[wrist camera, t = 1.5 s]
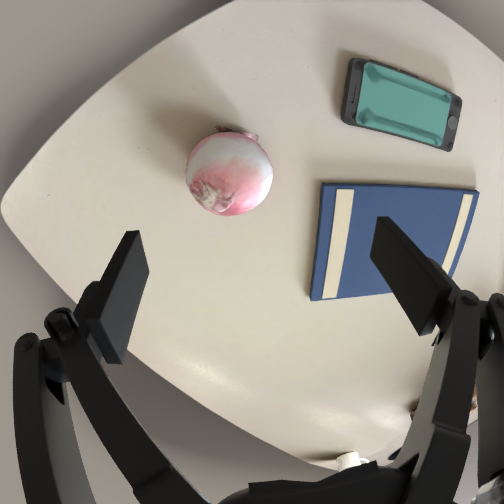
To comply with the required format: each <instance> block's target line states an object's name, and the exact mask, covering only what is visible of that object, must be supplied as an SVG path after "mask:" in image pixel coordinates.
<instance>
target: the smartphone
mask: <svg viewBox="0 0 504 504" xmlns="http://www.w3.org/2000/svg"><path fill="white" fill-rule="evenodd" d="M461 107H462V100H461V98H460V97H459V96H457V95H455V94H453V93H451V92H448V91H446V90H444V89H442V88H440V87H438V86H435V85H433V84H431V83H429V82H426V81H424V80H421V79H419V78H418V77H417V76H415V75H412V74H410V73H407V72H405V71H402V70H400V71H398V70H397V68H394V67H391V66H388V65H383V64H382V63H379V62H376V61H373V60H365V59H362V58H353V59H351V60H350V62H349V69H348V76H347V82H346V89H345V95H344V101H343V107H342V113H341V120H342V121H343V122H344V123H346V124H348V125H352V126H357V127H362V128H366V129H370V130H375V131H379V132H383V133H387V134H391V135H394V136H398V137H402V138H405V139H409V140H412V141H416V142H419V143H422V144H426V145H429V146H432V147H435V148H438V149H441V150H444V151H447V152H450V151H451V150H452V148H453V144H454V140H455V135H456V131H457V127H458V122H459V117H460V112H461Z"/></svg>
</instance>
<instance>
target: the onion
mask: <svg viewBox="0 0 504 504" xmlns="http://www.w3.org/2000/svg"><path fill="white" fill-rule="evenodd" d="M215 128H216V130H219V131H220V132H222V133H217V134H214V135H210V136H208V137H205V138H203V139H202V140H201V141H200V142H199V143H198V144H197V145H196V146H195V147H194V149H193V150H192V151H191V153H190V155H189V157H188V161H187V167H186V182H187V185H188V188H189V190H190V192H191V194H192V195H193V197H194V198H195V199H196V201H197V202H198V203H199V204H200V205H201V206H202V207H203V208H204V209H205V210H207V211H209V212H212V213H214V214H217V215H221V216H234V215H239V214H242V213H245V212H247V211H249V210H251V209H253V208H254V207H256V206H257V205H258V204H260V203H261V202H262V201H263V199H264V198H265V197H266V195H267V194H268V192H269V190H270V187H271V183H272V178H273V169H272V165H271V162H270V160H269V158H268V156H267V155H266V153H265V151H264V150H263V149H262V147H261V146H260V145H259V144H258V143H257V140H258V135H256V134H251V133H247V132H242V131H231V130H232V129H230V128H226V127H220V126H215ZM233 132H239V133H240V134H239V133H233Z"/></svg>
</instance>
